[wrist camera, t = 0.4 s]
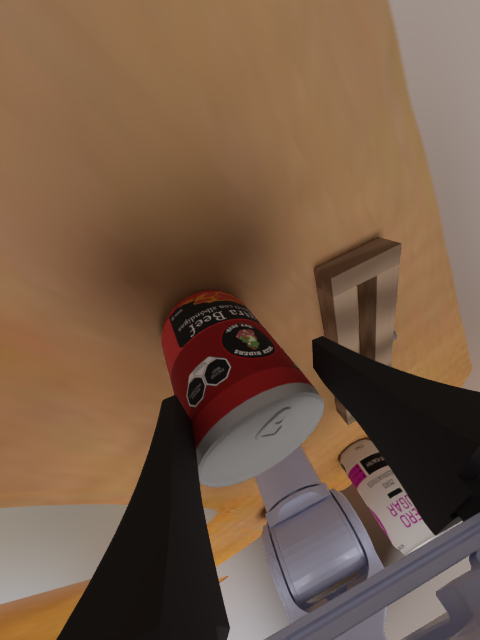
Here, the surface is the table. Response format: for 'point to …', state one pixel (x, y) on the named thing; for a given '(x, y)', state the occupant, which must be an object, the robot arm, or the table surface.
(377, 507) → the supplement can
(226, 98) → the table surface
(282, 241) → the table surface
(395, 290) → the wooden slotted frame
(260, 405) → the canned food
